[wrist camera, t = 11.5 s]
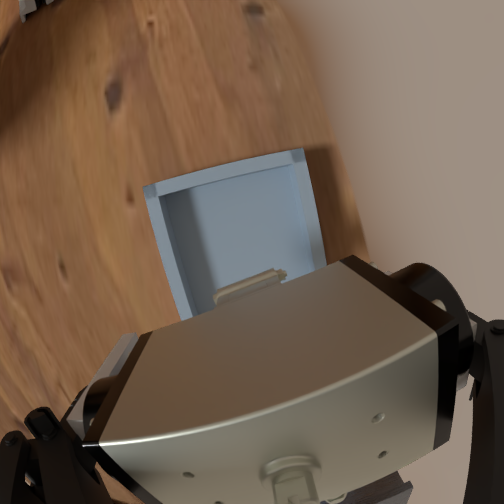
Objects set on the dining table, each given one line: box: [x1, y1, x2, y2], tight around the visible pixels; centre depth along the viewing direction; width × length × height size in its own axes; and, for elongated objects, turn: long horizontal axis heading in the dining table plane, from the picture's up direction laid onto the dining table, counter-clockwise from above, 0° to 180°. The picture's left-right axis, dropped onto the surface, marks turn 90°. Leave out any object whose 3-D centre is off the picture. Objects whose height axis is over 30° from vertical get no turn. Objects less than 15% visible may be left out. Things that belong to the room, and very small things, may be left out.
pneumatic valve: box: [82, 255, 474, 504], centre depth 10 cm, size 6×12×12 cm, turn 111°
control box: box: [320, 471, 413, 504], centre depth 22 cm, size 11×11×15 cm
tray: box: [143, 148, 327, 321], centre depth 23 cm, size 17×12×3 cm
